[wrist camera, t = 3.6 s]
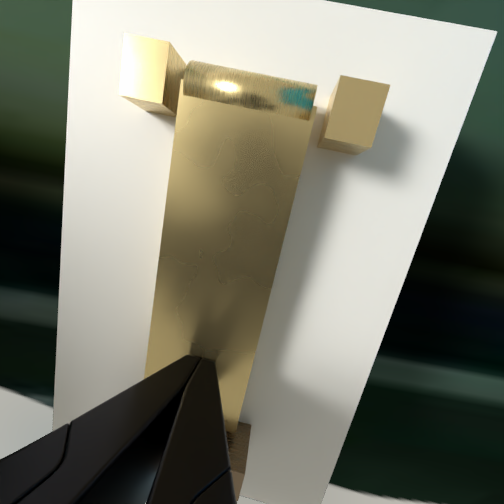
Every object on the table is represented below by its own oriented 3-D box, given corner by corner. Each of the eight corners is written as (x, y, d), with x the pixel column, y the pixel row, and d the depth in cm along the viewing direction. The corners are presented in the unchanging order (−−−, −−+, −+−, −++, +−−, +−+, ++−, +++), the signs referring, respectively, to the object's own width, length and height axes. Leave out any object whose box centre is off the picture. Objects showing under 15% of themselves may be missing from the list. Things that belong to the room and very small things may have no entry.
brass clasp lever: (197, 70, 6) (182, 50, 6) (318, 94, 6) (324, 78, 5) (153, 385, 9) (138, 409, 8) (239, 408, 9) (234, 436, 8)
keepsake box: (161, 54, 11) (4, -128, 5) (403, 102, 11) (584, -33, 4) (125, 360, 15) (6, 488, 8) (305, 409, 14) (324, 585, 8)
